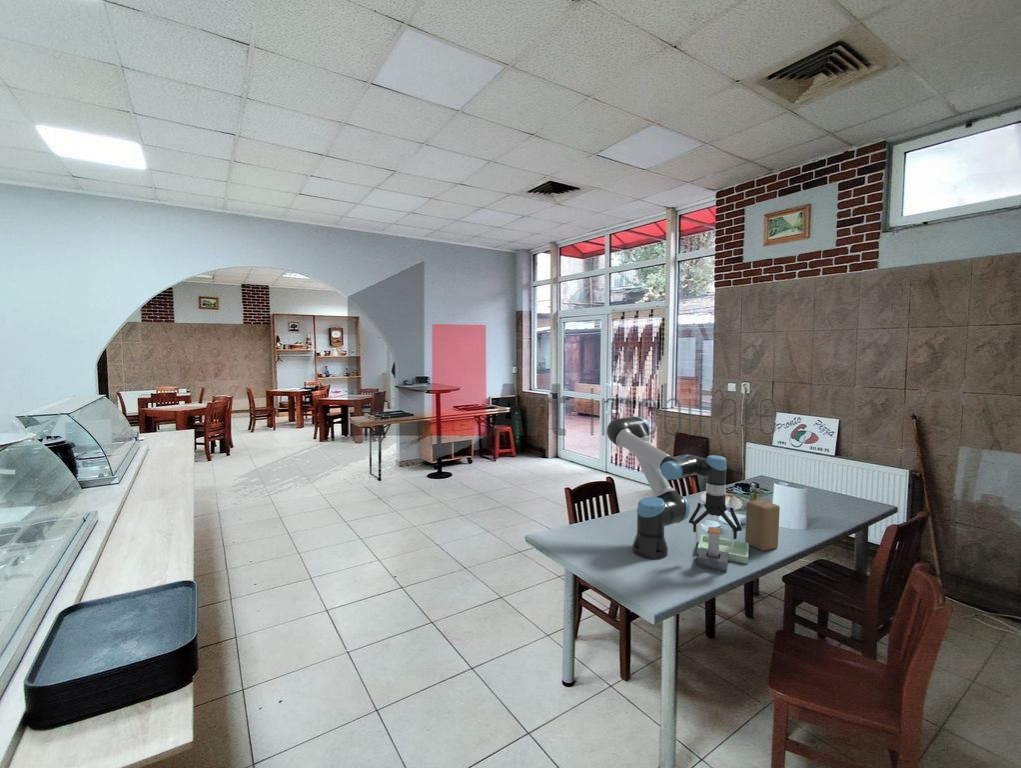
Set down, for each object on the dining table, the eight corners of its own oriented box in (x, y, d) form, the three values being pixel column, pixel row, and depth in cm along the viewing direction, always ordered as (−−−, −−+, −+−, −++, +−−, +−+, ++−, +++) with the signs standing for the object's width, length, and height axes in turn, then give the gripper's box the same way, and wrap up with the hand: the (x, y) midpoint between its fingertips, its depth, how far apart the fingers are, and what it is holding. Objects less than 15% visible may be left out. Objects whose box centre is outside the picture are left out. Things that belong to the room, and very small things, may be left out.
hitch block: (697, 566, 195) (697, 557, 194) (700, 556, 204) (700, 547, 204) (726, 572, 189) (727, 563, 189) (728, 561, 199) (728, 552, 199)
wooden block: (744, 543, 218) (745, 501, 216) (760, 539, 221) (761, 498, 220) (762, 551, 208) (764, 508, 207) (778, 548, 212) (780, 505, 210)
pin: (706, 565, 196) (707, 530, 195) (707, 560, 200) (708, 526, 199) (718, 567, 194) (719, 532, 192) (719, 563, 198) (720, 528, 196)
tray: (697, 554, 206) (697, 547, 206) (701, 540, 220) (701, 534, 220) (748, 564, 197) (748, 557, 197) (748, 549, 211) (748, 542, 211)
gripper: (682, 491, 197) (681, 540, 198) (749, 500, 185) (747, 552, 187) (685, 486, 203) (684, 534, 205) (749, 494, 192) (747, 545, 193)
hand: (714, 542), depth 196 cm, fingers open, 13 cm apart
